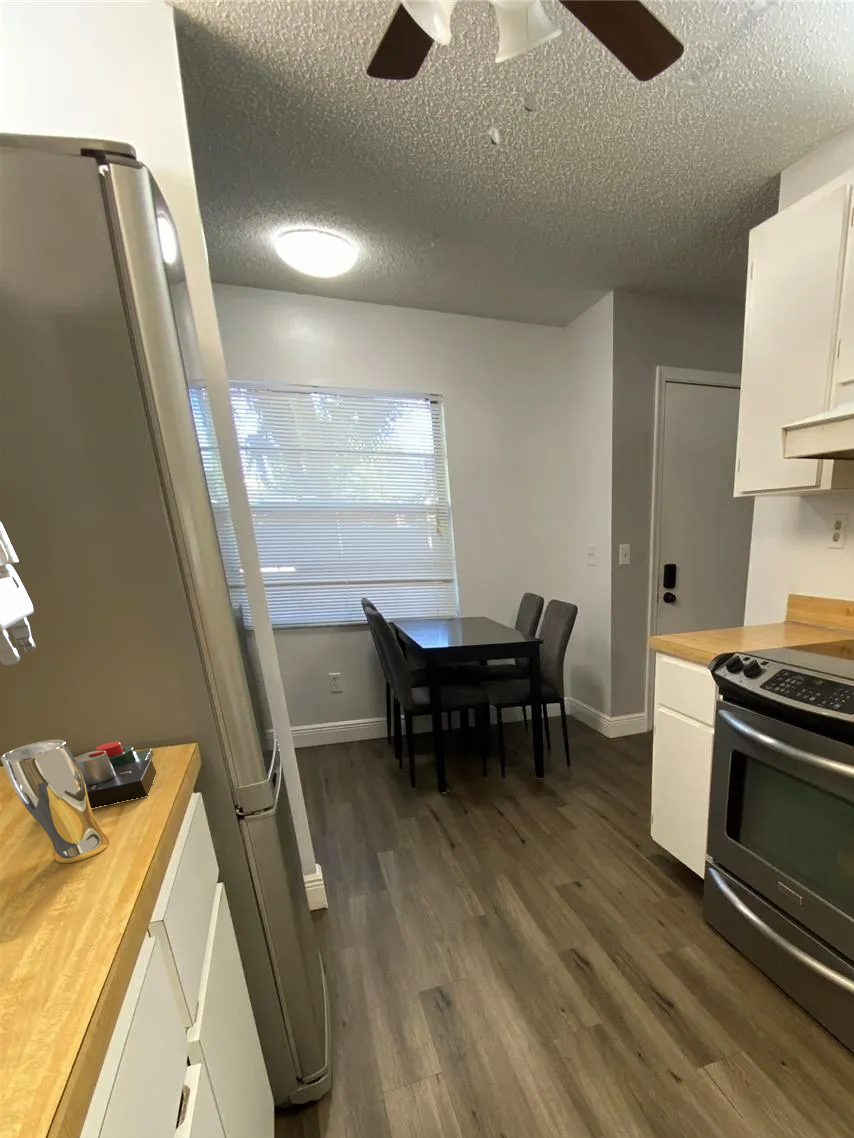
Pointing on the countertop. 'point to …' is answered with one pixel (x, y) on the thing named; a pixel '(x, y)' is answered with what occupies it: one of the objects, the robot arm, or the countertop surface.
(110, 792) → the panel
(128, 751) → the switch block
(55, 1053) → the countertop surface
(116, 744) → the button
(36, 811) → the beer glass
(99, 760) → the knob
